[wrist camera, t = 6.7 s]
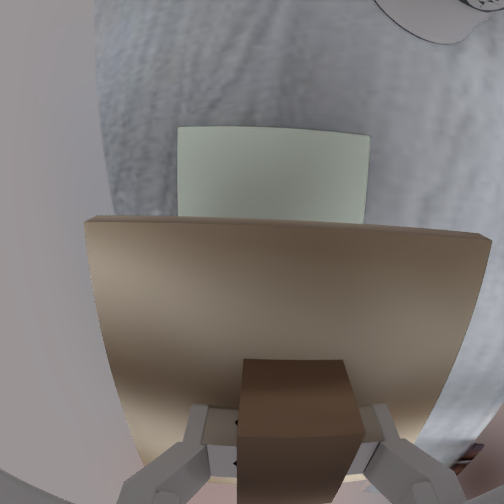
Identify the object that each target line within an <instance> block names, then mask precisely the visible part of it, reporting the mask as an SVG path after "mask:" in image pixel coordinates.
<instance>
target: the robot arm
mask: <svg viewBox="0 0 504 504" xmlns="http://www.w3.org/2000/svg"><path fill="white" fill-rule="evenodd" d="M375 1H376V2H377V3H378V5H379V6H380V7H381V8H382V9H383V10H384V11H385V12H386V13H387V14H388V15H389V16H390V17H391V18H392V19H393V20H394V21H395V22H397V23H398V24H399V25H400V26H402V27H403V28H405V29H406V30H408V31H409V32H411V33H413V34H415V35H417V36H419V37H421V38H423V39H425V40H428V41H431V42H435V43H440V44H453V43H457V42H460V41H462V40H464V39H465V38H466V37H467V36H468V35H469V34H470V33H471V32H472V30H473V29H474V28H476V27H477V26H478V25H479V24H480V23H483V22H485V21H486V20H488V19H489V18H490V16H491V15H492V14H494V13H495V12H497V11H499V10H504V0H375ZM358 409H359V412H360V415H361V418H362V422H363V425H364V428H365V431H366V434H365V437H364V439H363V441H362V443H361V445H360V448H359V450H358V452H357V454H356V456H355V458H354V460H353V462H352V464H351V467H350V469H349V471H348V473H347V475H353V474H363V475H364V476H365V477H366V478H367V479H368V480H369V481H370V482H371V483H372V484H373V485H374V486H375V487H376V488H377V489H378V490H379V491H380V492H381V493H382V494H383V495H384V496H385V497H386V498H387V499H388V500H389V501H390V502H391V503H392V504H504V485H502V486H500V487H498V488H495V489H493V490H491V491H489V492H487V493H485V494H482V495H480V496H478V497H476V498H473V499H471V500H468V501H467V500H466V498H465V496H464V493H463V490H462V488H461V486H460V483H459V481H458V479H457V477H456V474H455V472H454V471H452V470H451V469H449V468H448V467H446V466H445V465H443V464H442V463H440V462H439V461H437V460H436V459H434V458H433V457H431V456H430V455H428V454H427V453H425V452H424V451H422V450H421V449H419V448H418V447H417V446H415V445H414V444H412V443H411V442H409V441H408V440H407V439H405V438H401V439H400V436H399V434H398V431H397V429H396V426H395V424H394V421H393V419H392V416H391V414H390V412H389V409H388V407H387V405H386V404H385V403H380V404H371V405H359V406H358ZM238 416H239V407H228V406H217V405H206V404H197V403H193V404H192V406H191V409H190V413H189V417H188V421H187V425H186V429H185V433H184V437H183V441H182V442H177V443H175V444H174V445H173V446H171V447H170V448H169V449H168V450H166V451H165V452H164V453H162V454H161V455H160V456H158V457H157V458H156V459H155V460H153V461H152V462H151V463H149V464H148V465H146V466H145V467H144V468H142V469H141V470H140V471H138V472H137V473H136V474H134V475H133V476H131V477H130V478H129V479H127V480H126V481H124V484H123V486H122V489H121V492H120V495H119V498H118V501H117V504H186V503H187V502H188V501H189V500H190V499H191V498H192V497H193V496H194V495H195V494H196V493H197V491H199V489H201V487H202V486H203V485H204V484H205V483H206V482H207V481H208V480H209V479H210V478H211V477H210V476H214V477H231V478H237V427H238ZM0 504H74V503H71V502H69V501H67V500H64V499H62V498H59V497H57V496H54V495H52V494H50V493H47V492H45V491H43V490H41V489H39V488H37V487H34V486H32V485H30V484H28V483H26V482H24V481H22V480H20V479H18V478H17V477H15V476H13V475H11V474H9V473H7V472H6V471H4V470H2V469H0Z"/></svg>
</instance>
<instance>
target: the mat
mask: <svg viewBox="0 0 504 504" xmlns="http://www.w3.org/2000/svg"><path fill="white" fill-rule="evenodd" d="M369 151H370V136H365V135H357V134H349V133H340V132H330V131H319V130H307V129H292V128H274V127H243V126H200V127H178V143H177V187H178V216H192V217H229V218H257V219H281V220H302V221H322V222H339V223H356V224H363V220H364V211H365V201H366V191H367V180H368V167H369Z"/></svg>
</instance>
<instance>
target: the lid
mask: <svg viewBox="0 0 504 504" xmlns="http://www.w3.org/2000/svg"><path fill="white" fill-rule="evenodd" d="M84 228H85V238H86V246H87V254H88V261H89V268H90V275H91V281H92V287H93V292H94V298H95V303H96V308H97V313H98V318H99V323H100V327H101V332H102V336H103V341H104V345H105V349H106V353H107V357H108V360H109V364H110V368H111V372H112V375H113V379H114V382H115V386H116V389H117V392H118V396H119V399H120V402H121V405H122V408H123V411H124V414H125V417H126V420H127V423H128V426H129V429H130V431H131V434H132V437H133V440H134V442H135V445H136V447H137V450H138V453H139V455H140V458H141V460H142V462H143V465H144V467H145V466H146V465H148V464H149V463H151V462H152V461H153V460H155V459H156V458H157V457H158V456H160V455H161V454H162V453H164V452H165V451H166V450H168V449H169V448H170V447H171V446H173V445H174V444H175V443H177V442H182V441H183V437H184V433H185V429H186V425H187V421H188V417H189V413H190V409H191V406H192V404H193V403H197V404H206V405H217V406H228V407H239V416H238V427H237V478H231V477H214V476H210V477H211V478H210V479H209V480H208V481H207V482H208V483H218V484H231V485H237V504H323V503H331V502H332V501H333V499H334V497H335V495H336V493H337V492H338V490H339V488H340V486H341V484H342V482H351V481H359V480H366V479H367V478H366V477H365V476H364V475H363V474H353V475H347V473H348V471H349V469H350V467H351V464H352V462H353V460H354V458H355V456H356V454H357V452H358V450H359V448H360V445H361V443H362V441H363V439H364V437H365V434H366V431H365V428H364V425H363V422H362V418H361V415H360V412H359V409H358V406H359V405H371V404H380V403H385V404H386V405H387V407H388V409H389V412H390V414H391V416H392V419H393V421H394V424H395V426H396V429H397V431H398V434H399V436H400V439H401V438H405V439H407V440H408V441H409V442H411V443H412V444H414V442H415V440H416V439H417V437H418V435H419V433H420V432H421V430H422V428H423V426H424V425H425V423H426V421H427V419H428V417H429V415H430V413H431V412H432V410H433V408H434V406H435V404H436V402H437V400H438V398H439V396H440V394H441V392H442V389H443V387H444V385H445V383H446V381H447V379H448V376H449V374H450V372H451V370H452V367H453V365H454V363H455V360H456V358H457V355H458V353H459V350H460V348H461V345H462V343H463V340H464V337H465V335H466V332H467V329H468V326H469V323H470V320H471V318H472V315H473V311H474V308H475V305H476V302H477V299H478V295H479V292H480V289H481V285H482V281H483V278H484V274H485V270H486V266H487V262H488V258H489V253H490V249H491V244H492V240H490V239H488V238H486V237H484V236H483V235H481V234H479V233H469V232H459V231H448V230H436V229H424V228H412V227H399V226H385V225H371V224H356V223H339V222H322V221H302V220H281V219H257V218H229V217H192V216H95V217H93V218H91V219H89V220H87V221H85V222H84Z"/></svg>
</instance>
